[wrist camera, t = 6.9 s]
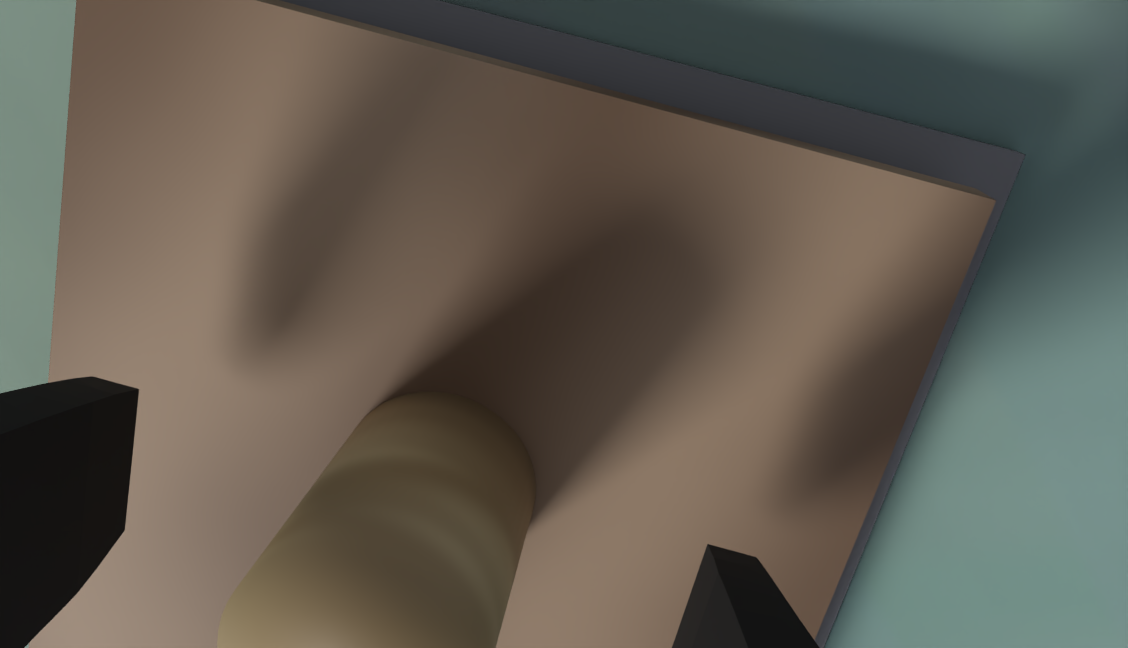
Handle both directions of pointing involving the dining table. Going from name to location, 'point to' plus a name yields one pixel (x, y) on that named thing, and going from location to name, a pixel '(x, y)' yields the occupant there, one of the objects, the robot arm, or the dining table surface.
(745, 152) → the lid
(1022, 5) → the dining table surface
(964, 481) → the dining table surface
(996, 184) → the mat
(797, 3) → the dining table surface
